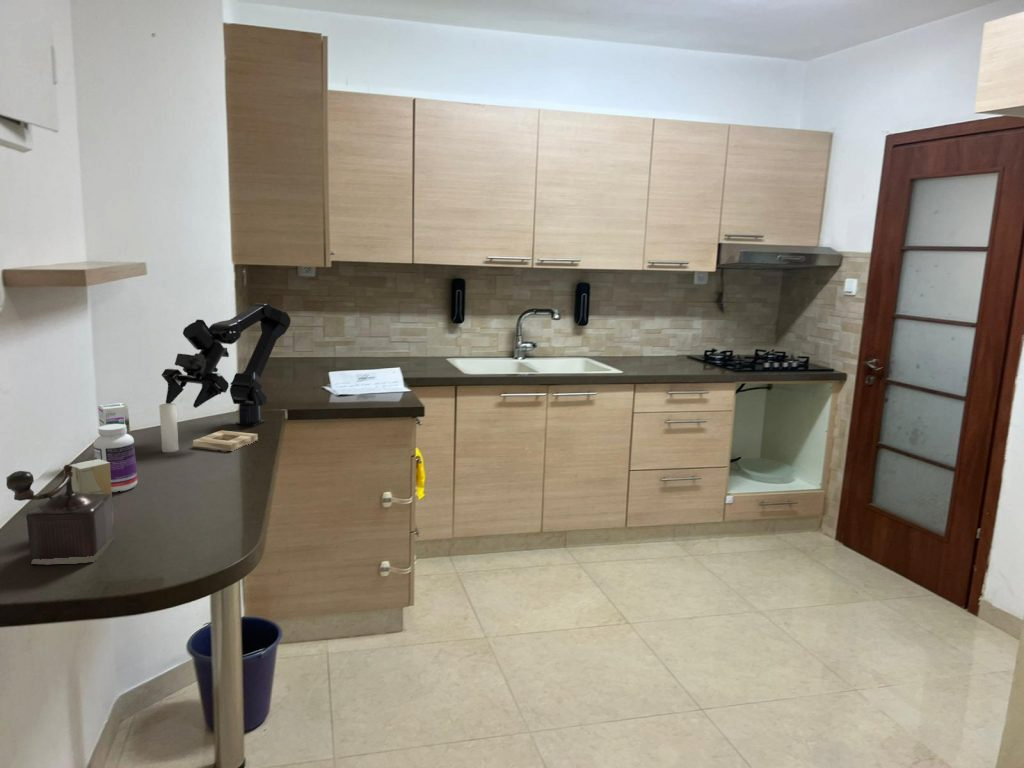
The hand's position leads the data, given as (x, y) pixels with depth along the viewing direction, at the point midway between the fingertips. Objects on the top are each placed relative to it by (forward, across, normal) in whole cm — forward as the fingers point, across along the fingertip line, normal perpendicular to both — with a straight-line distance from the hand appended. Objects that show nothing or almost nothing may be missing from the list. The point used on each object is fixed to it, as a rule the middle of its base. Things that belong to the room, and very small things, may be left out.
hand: (180, 405), depth 195 cm
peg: (+11, 0, +5) cm, 12 cm away
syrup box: (+20, -5, -4) cm, 21 cm away
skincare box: (+44, +24, -27) cm, 57 cm away
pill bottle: (+32, +12, -15) cm, 37 cm away
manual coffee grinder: (+54, +34, -37) cm, 74 cm away
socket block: (+4, +9, +12) cm, 16 cm away
